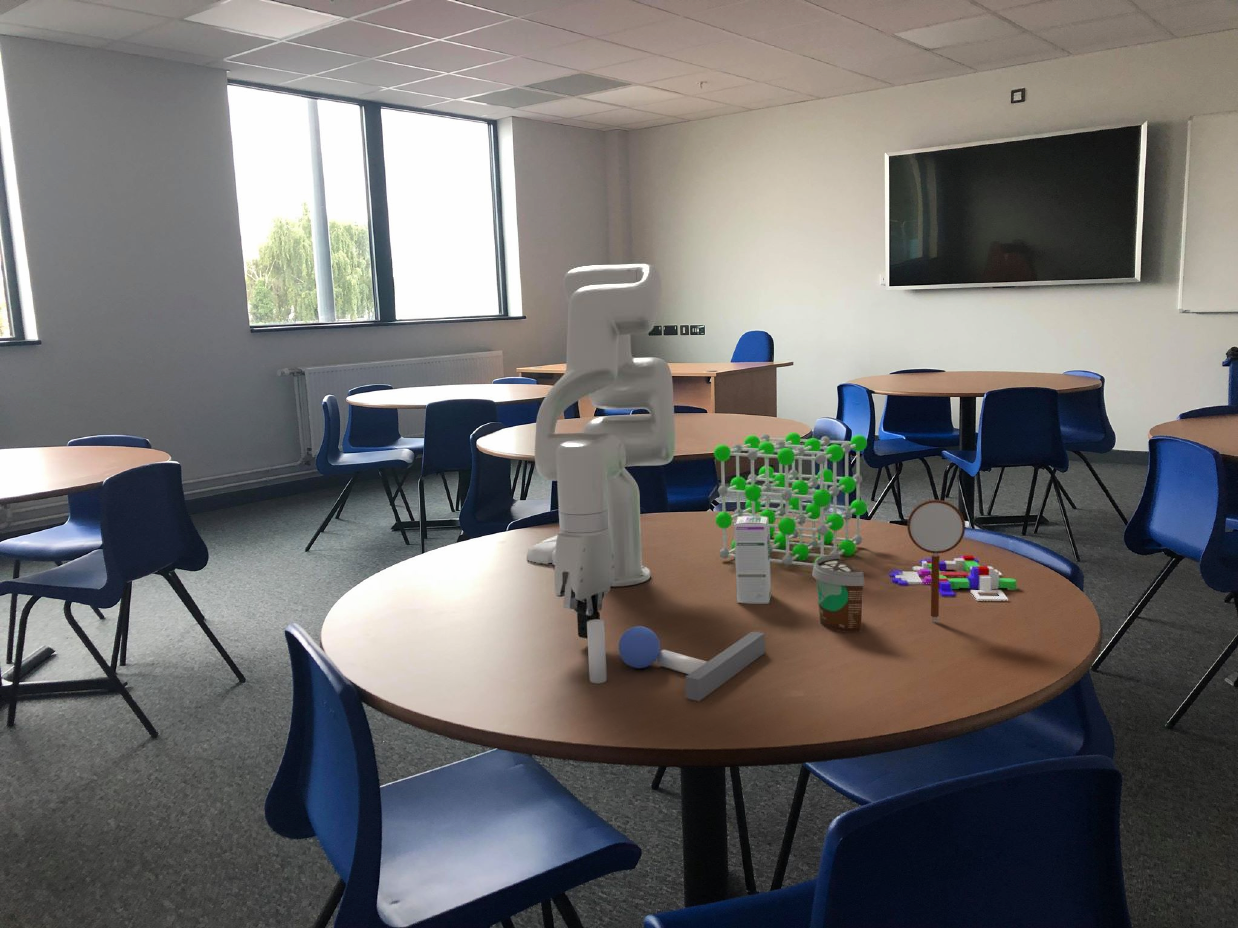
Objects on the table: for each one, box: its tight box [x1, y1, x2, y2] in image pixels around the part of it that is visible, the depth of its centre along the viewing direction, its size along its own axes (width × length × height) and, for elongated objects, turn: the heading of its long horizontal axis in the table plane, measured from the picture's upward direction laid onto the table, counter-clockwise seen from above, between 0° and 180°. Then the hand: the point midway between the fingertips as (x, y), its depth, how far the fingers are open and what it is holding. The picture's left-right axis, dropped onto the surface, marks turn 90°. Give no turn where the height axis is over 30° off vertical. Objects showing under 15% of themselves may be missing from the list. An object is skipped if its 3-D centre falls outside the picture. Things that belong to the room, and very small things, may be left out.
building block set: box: [888, 555, 1017, 602], centre depth 171 cm, size 25×20×4 cm
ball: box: [618, 625, 661, 669], centre depth 135 cm, size 6×6×6 cm
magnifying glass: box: [906, 499, 966, 623], centre depth 148 cm, size 9×2×20 cm, turn 71°
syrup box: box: [733, 516, 772, 605], centre depth 164 cm, size 6×6×14 cm
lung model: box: [525, 534, 558, 566], centre depth 201 cm, size 7×17×25 cm
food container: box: [811, 554, 865, 633], centre depth 150 cm, size 12×6×10 cm, turn 5°
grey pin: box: [587, 619, 608, 684], centre depth 130 cm, size 2×2×8 cm
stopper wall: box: [685, 631, 766, 702], centre depth 131 cm, size 2×20×3 cm, turn 146°
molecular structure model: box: [713, 431, 868, 567], centre depth 192 cm, size 24×25×24 cm
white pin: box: [657, 649, 708, 675], centre depth 133 cm, size 2×2×8 cm
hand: (589, 636), depth 144 cm, fingers closed
